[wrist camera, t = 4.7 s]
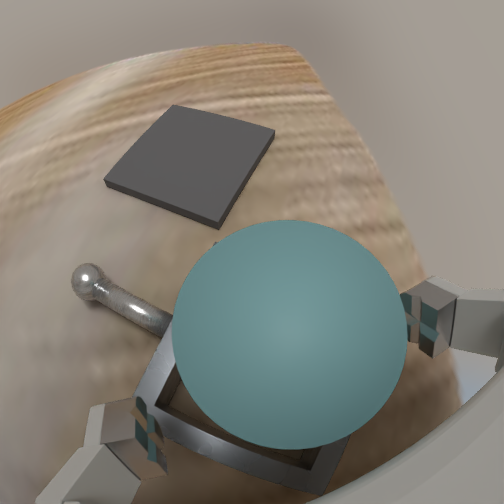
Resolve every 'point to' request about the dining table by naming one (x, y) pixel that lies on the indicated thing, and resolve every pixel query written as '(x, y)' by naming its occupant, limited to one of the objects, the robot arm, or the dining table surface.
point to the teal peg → (289, 334)
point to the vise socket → (187, 428)
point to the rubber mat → (192, 163)
